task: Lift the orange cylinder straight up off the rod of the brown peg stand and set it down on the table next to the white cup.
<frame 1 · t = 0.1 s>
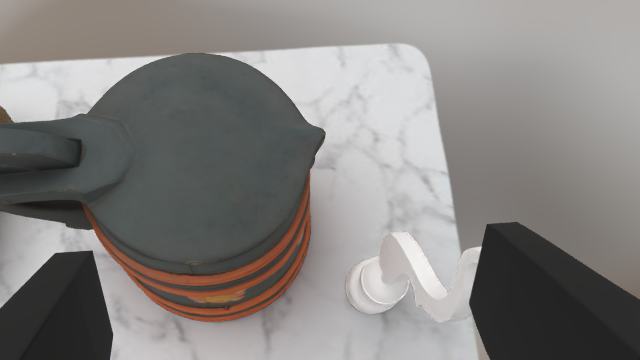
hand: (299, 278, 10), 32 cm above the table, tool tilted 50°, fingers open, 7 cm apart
decorative finial: (371, 294, 42), on the table
tankard: (190, 232, 42), on the table
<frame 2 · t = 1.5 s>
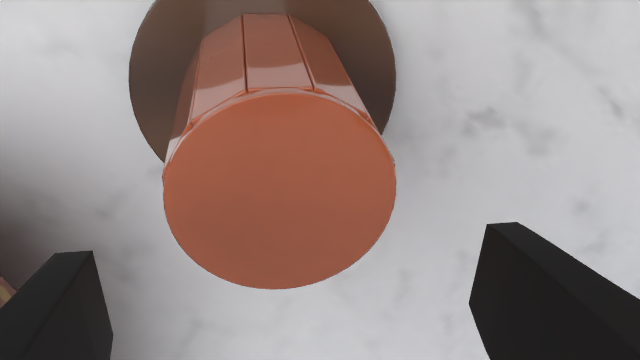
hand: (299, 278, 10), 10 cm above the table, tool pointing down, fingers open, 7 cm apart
orange cylinder: (267, 94, 18), point 1 cm above the table, touching brown peg stand
brown peg stand: (265, 83, 19), on the table
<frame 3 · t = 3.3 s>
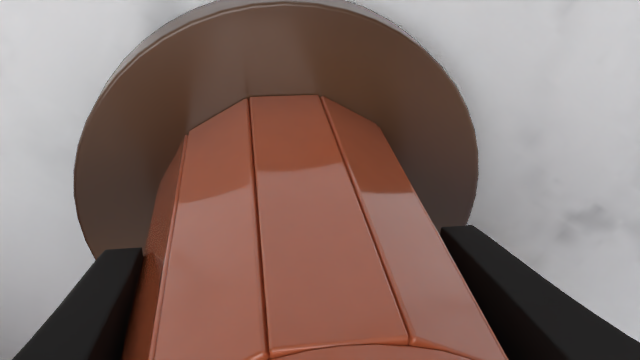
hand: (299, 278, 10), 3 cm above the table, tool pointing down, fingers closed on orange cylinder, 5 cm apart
orange cylinder: (285, 207, 12), point 1 cm above the table, touching gripper, brown peg stand
brown peg stand: (283, 184, 13), on the table
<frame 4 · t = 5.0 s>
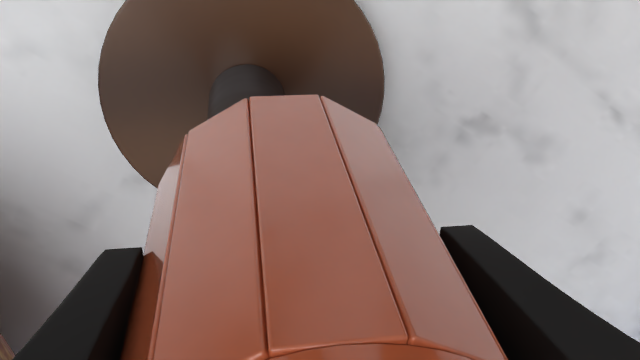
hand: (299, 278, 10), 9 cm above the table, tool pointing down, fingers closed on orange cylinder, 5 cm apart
orange cylinder: (285, 207, 12), point 7 cm above the table, touching gripper
brown peg stand: (246, 88, 18), on the table
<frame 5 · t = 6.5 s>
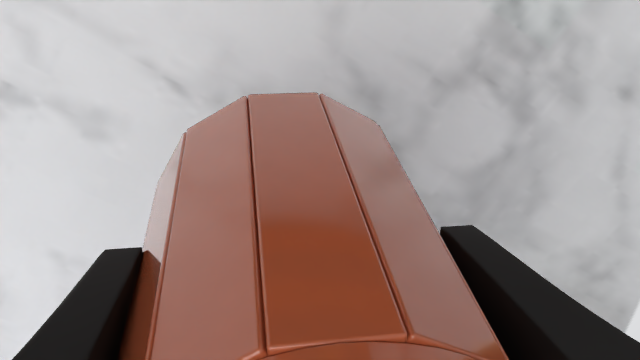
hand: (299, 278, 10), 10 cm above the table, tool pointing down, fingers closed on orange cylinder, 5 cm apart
orange cylinder: (284, 205, 12), point 8 cm above the table, touching gripper
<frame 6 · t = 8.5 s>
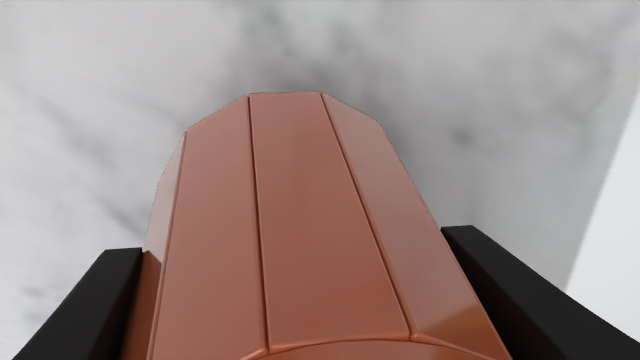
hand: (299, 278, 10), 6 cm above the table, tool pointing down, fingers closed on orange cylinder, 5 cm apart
orange cylinder: (285, 204, 12), point 3 cm above the table, touching gripper
when the fingers open (2 cm above the table, at t = 10.1 s): orange cylinder stays where it is, on the table.
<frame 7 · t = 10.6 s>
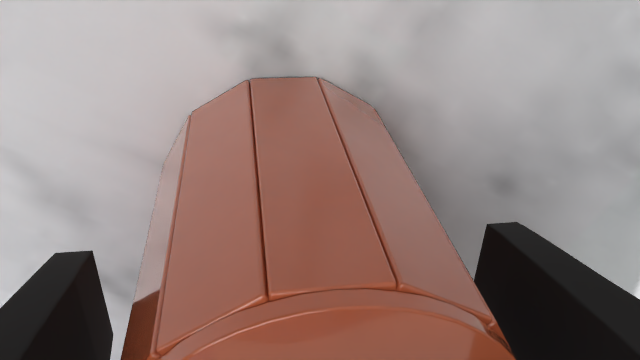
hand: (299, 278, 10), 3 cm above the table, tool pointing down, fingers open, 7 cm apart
orange cylinder: (284, 187, 12), on the table
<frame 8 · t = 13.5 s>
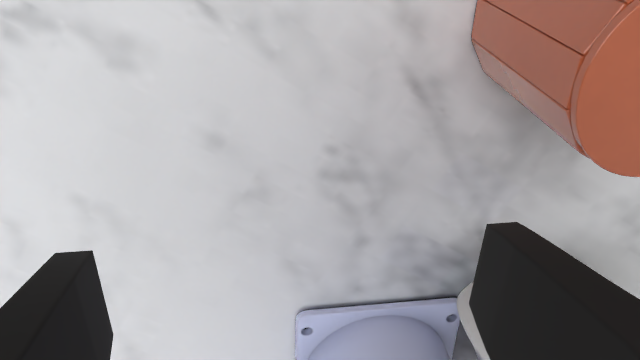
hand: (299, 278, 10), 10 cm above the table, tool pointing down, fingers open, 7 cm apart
cup: (506, 284, 26), on the table
orange cylinder: (545, 16, 19), on the table
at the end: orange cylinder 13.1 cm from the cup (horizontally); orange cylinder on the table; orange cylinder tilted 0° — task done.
